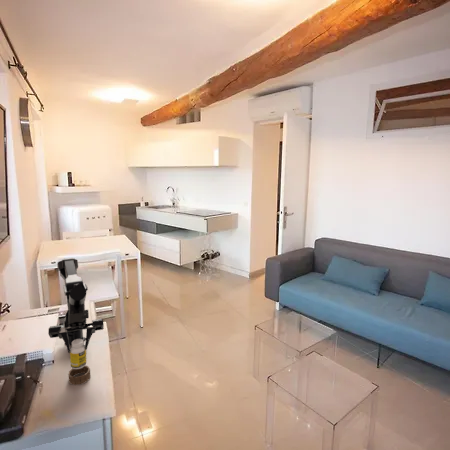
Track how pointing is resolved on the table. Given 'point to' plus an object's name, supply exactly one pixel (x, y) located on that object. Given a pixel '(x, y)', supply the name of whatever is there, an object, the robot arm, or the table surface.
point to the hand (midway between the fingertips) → (77, 351)
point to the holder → (79, 379)
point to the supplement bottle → (77, 354)
